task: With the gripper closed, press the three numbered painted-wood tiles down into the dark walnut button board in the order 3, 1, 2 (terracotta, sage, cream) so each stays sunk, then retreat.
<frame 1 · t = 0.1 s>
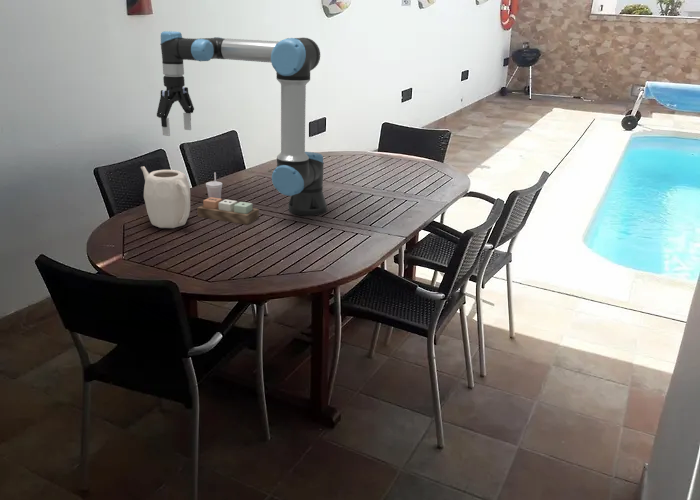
hand: (177, 132, 234), 28 cm above the table, fingers open, 13 cm apart
watering can: (167, 223, 220), on the table
tile 1: (243, 208, 225), point 4 cm above the table, slide at 0.0 cm
smoothie: (215, 207, 240), on the table
button board: (228, 217, 229), on the table
tile 2: (228, 206, 227), point 4 cm above the table, slide at 0.0 cm
tile 3: (212, 203, 229), point 4 cm above the table, slide at 0.0 cm
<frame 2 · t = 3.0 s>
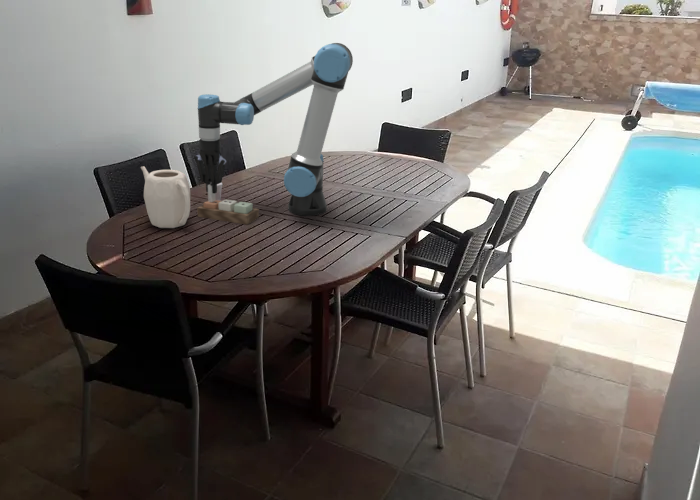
hand: (211, 201, 229), 5 cm above the table, fingers closed
tile 3: (213, 206, 229), point 3 cm above the table, slide at 0.9 cm, touching gripper
everything else where it was.
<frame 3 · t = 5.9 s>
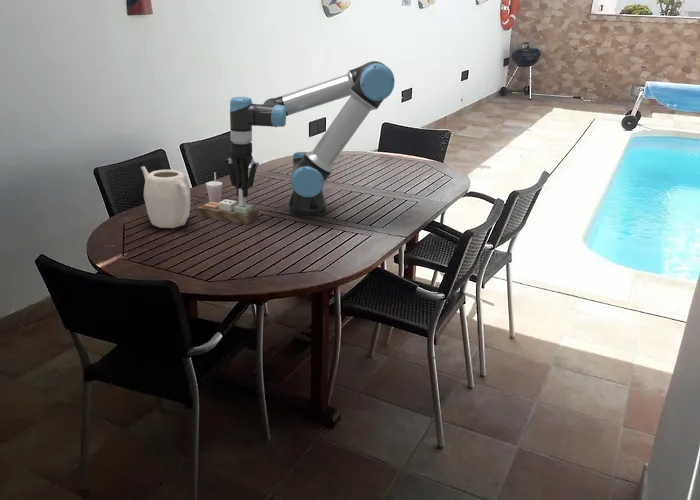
hand: (242, 205, 224), 6 cm above the table, fingers closed
tile 1: (243, 210, 225), point 4 cm above the table, slide at 0.7 cm, touching gripper
tile 3: (213, 208, 230), point 2 cm above the table, slide at 1.9 cm
everything else where it was.
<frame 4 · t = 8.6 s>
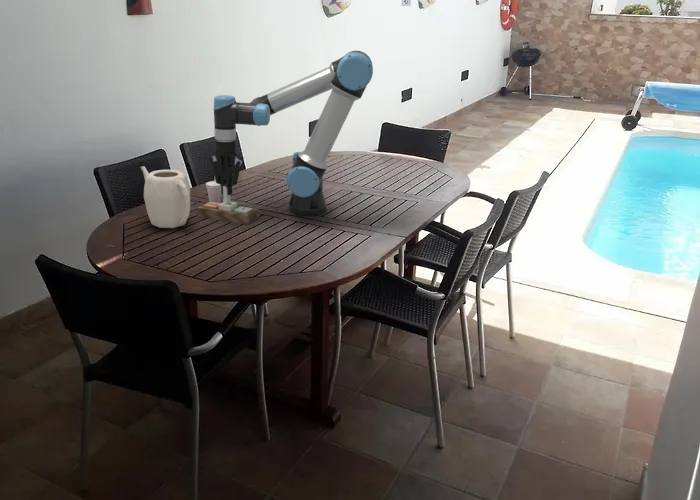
hand: (227, 202, 226), 6 cm above the table, fingers closed
tile 1: (243, 213, 226), point 2 cm above the table, slide at 1.9 cm
tile 2: (228, 207, 227), point 4 cm above the table, slide at 0.7 cm, touching gripper
everything else where it was.
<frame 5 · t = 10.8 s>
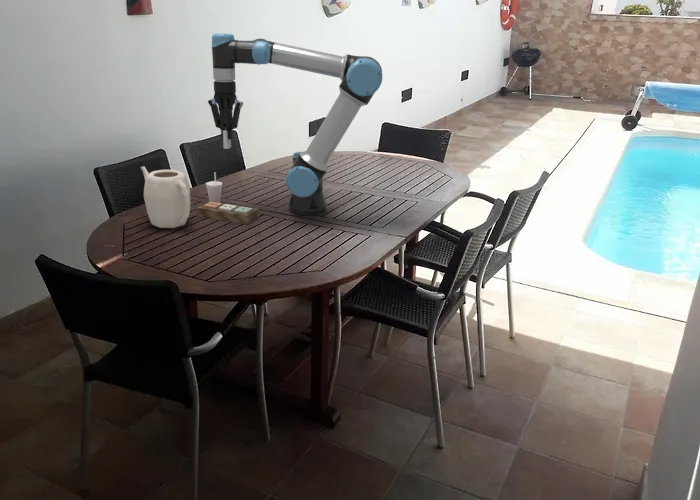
hand: (227, 147, 219), 26 cm above the table, fingers closed
tile 2: (228, 211, 228), point 2 cm above the table, slide at 1.9 cm
everything else where it was.
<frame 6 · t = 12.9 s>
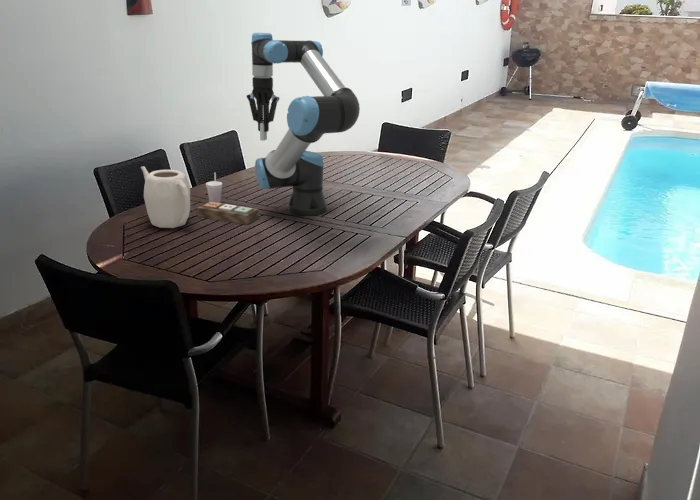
hand: (263, 139, 234), 26 cm above the table, fingers closed
nothing on the table moved.
at the end: tile 3 slide at 1.9 cm; tile 1 slide at 1.9 cm; tile 2 slide at 1.9 cm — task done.
